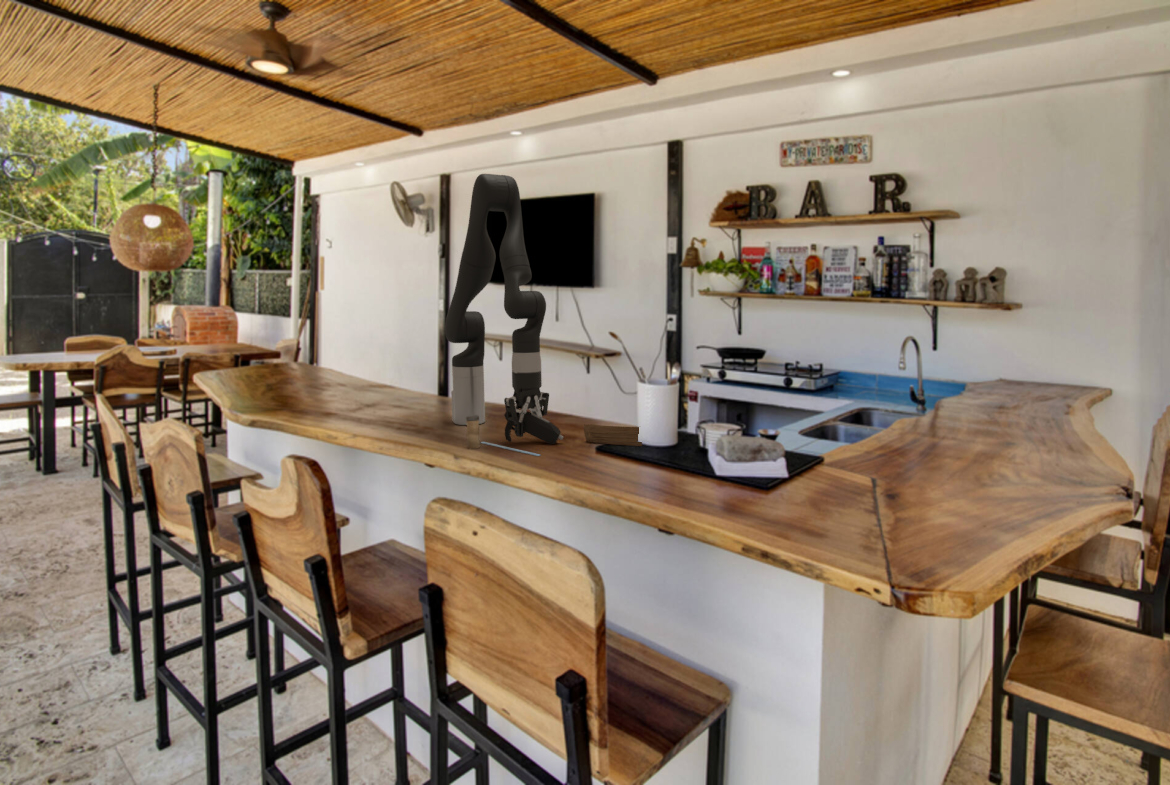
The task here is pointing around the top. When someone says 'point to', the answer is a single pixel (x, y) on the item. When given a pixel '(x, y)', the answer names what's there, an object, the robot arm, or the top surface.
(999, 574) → the top surface
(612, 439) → the wood plank
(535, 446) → the top surface
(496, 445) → the tape line
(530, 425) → the gun
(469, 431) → the peg
